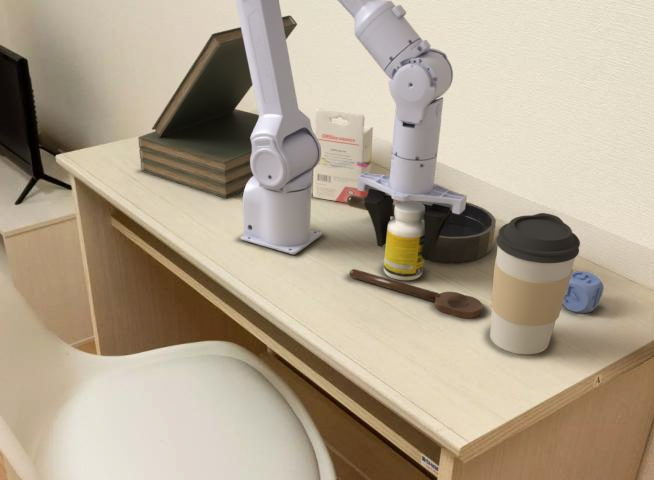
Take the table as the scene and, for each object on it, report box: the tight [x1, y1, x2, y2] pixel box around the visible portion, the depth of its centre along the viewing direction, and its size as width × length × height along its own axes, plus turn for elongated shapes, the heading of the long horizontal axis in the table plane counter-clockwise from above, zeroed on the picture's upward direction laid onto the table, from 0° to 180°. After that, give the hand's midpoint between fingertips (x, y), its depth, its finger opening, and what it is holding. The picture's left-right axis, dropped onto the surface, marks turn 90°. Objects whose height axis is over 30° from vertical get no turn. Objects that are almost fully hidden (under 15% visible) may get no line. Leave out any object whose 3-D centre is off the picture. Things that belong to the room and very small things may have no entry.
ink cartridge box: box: [312, 108, 374, 204], centre depth 128 cm, size 9×5×15 cm, turn 68°
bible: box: [137, 15, 298, 199], centre depth 136 cm, size 23×20×25 cm
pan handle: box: [346, 195, 395, 218], centre depth 121 cm, size 9×2×2 cm, turn 60°
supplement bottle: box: [383, 200, 425, 281], centre depth 107 cm, size 5×5×10 cm
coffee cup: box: [489, 212, 581, 355], centre depth 91 cm, size 9×9×15 cm
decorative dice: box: [562, 270, 604, 314], centre depth 102 cm, size 4×4×4 cm
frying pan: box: [421, 201, 497, 263], centre depth 117 cm, size 14×14×4 cm
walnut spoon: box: [349, 268, 483, 319], centre depth 104 cm, size 19×4×1 cm, turn 60°
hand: (404, 250), depth 107 cm, fingers open, 6 cm apart
